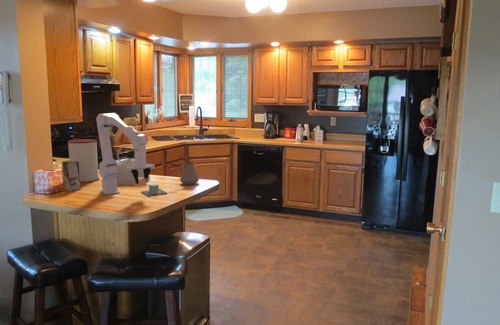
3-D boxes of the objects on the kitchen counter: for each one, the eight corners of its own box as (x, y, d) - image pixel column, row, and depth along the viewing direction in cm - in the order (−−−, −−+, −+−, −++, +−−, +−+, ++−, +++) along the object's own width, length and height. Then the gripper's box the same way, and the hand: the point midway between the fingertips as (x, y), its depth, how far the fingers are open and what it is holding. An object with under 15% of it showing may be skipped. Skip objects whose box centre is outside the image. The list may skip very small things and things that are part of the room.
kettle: (158, 177, 275) (157, 143, 271) (144, 185, 253) (143, 148, 249) (122, 176, 279) (120, 142, 275) (105, 183, 257) (103, 147, 253)
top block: (136, 185, 222) (136, 178, 221) (143, 184, 224) (143, 177, 223) (139, 187, 218) (138, 179, 218) (146, 186, 221) (146, 178, 220)
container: (67, 179, 269) (64, 140, 265) (95, 176, 278) (93, 138, 274) (73, 184, 255) (70, 143, 251) (102, 180, 264) (100, 141, 260)
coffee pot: (192, 180, 266) (191, 157, 263) (202, 183, 257) (202, 159, 255) (162, 185, 252) (161, 161, 249) (172, 189, 243) (171, 163, 241)
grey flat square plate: (141, 192, 236) (141, 191, 236) (159, 189, 242) (159, 188, 242) (148, 196, 227) (148, 195, 227) (167, 193, 233) (167, 192, 233)
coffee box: (80, 189, 242) (79, 161, 239) (69, 191, 238) (67, 163, 235) (73, 186, 248) (71, 159, 246) (62, 188, 244) (60, 161, 241)
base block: (149, 191, 235) (148, 184, 234) (156, 190, 237) (155, 183, 236) (151, 193, 231) (151, 185, 231) (158, 192, 234) (158, 185, 233)
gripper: (128, 159, 211) (130, 186, 214) (156, 157, 219) (157, 182, 222) (124, 157, 217) (125, 183, 219) (151, 155, 225) (152, 180, 227)
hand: (141, 183), depth 221 cm, fingers closed on top block, 4 cm apart
